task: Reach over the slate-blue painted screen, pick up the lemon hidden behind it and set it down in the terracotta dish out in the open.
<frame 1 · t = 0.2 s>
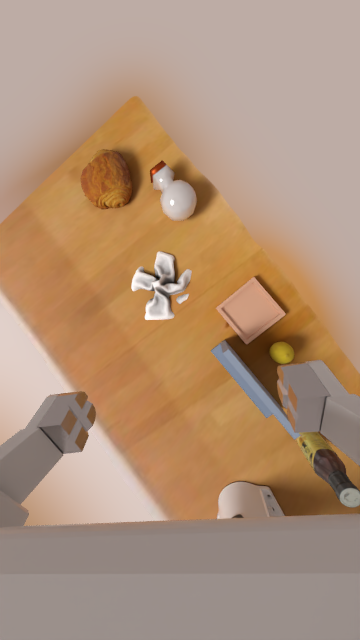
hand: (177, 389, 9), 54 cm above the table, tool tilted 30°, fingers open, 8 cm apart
cloth: (166, 284, 64), on the table
croissant: (110, 186, 64), on the table
dish: (249, 311, 60), on the table
sauce bottle: (304, 433, 60), on the table
lemon: (276, 349, 60), on the table
potion bottle: (175, 201, 62), on the table
screen: (250, 374, 61), on the table
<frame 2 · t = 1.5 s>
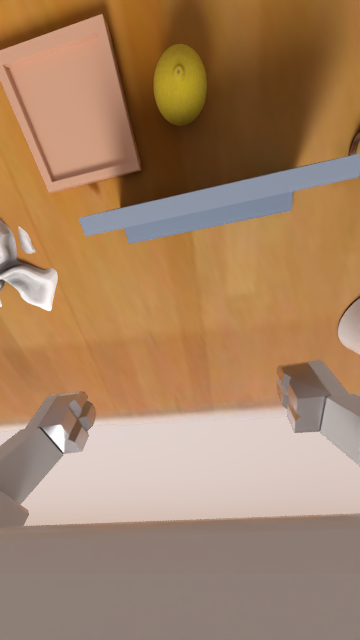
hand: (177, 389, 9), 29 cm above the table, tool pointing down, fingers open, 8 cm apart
cloth: (0, 254, 37), on the table
dish: (78, 121, 27), on the table
lemon: (181, 103, 26), on the table
screen: (201, 195, 31), on the table
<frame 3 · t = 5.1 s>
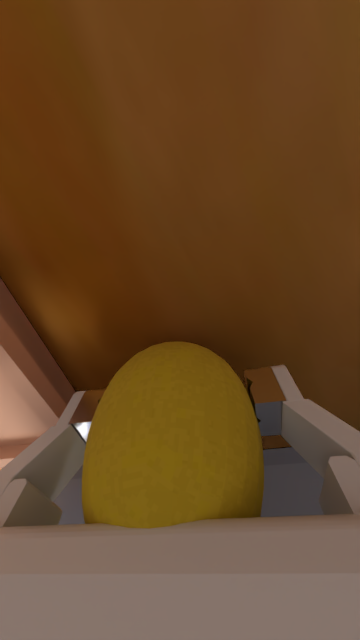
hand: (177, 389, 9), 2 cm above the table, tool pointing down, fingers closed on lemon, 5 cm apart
lemon: (179, 353, 11), on the table, touching gripper
screen: (222, 458, 16), on the table
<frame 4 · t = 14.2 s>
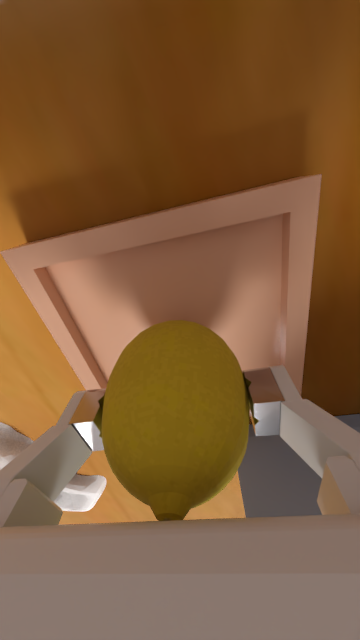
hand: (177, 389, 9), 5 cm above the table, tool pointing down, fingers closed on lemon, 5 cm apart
cloth: (15, 455, 23), on the table
dish: (180, 328, 13), on the table
lemon: (180, 335, 12), point 1 cm above the table, touching dish, gripper
when the fingers open (5 cm above the table, at t = 14.4 s): lemon stays where it is, resting on dish.
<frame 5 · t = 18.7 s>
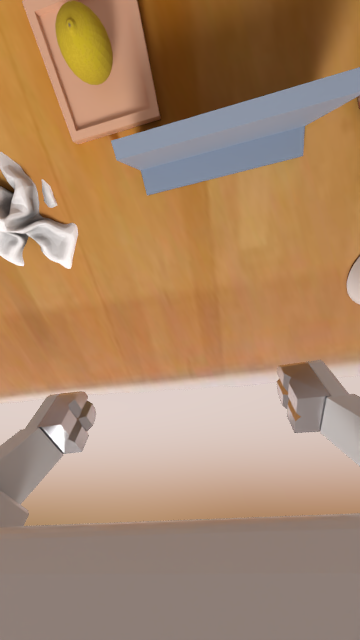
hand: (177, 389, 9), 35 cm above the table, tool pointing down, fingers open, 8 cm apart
cloth: (23, 210, 39), on the table
dish: (101, 70, 29), on the table
lemon: (99, 66, 28), point 1 cm above the table, touching dish
screen: (217, 143, 32), on the table
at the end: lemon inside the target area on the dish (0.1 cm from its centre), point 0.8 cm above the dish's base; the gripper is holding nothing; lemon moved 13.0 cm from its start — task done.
